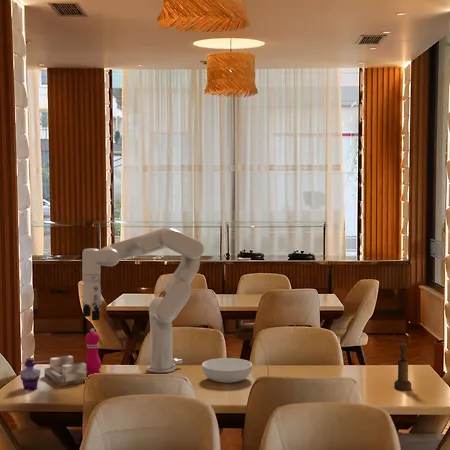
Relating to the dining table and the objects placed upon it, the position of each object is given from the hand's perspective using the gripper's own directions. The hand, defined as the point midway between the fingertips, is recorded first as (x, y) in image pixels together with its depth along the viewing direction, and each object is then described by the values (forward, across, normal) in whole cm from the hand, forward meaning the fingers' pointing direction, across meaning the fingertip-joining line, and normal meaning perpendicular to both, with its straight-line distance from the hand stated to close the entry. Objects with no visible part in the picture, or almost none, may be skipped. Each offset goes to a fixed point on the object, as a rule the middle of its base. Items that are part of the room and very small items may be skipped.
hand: (91, 318), depth 324 cm
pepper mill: (+25, 0, -1) cm, 25 cm away
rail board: (+25, 0, +11) cm, 27 cm away
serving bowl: (+24, -37, -45) cm, 63 cm away
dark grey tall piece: (+23, -85, -97) cm, 131 cm away
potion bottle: (+25, -6, +28) cm, 38 cm away
